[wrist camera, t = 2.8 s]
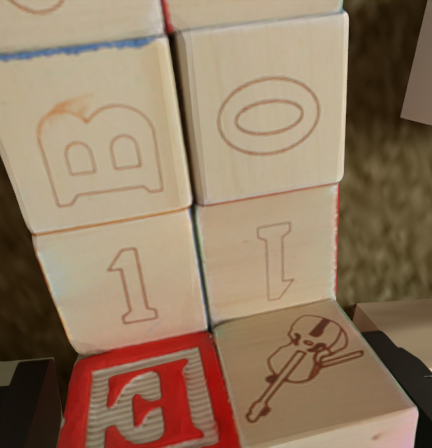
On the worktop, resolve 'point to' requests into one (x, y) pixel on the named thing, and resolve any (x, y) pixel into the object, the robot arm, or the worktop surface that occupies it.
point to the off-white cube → (421, 76)
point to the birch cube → (400, 324)
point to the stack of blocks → (193, 220)
